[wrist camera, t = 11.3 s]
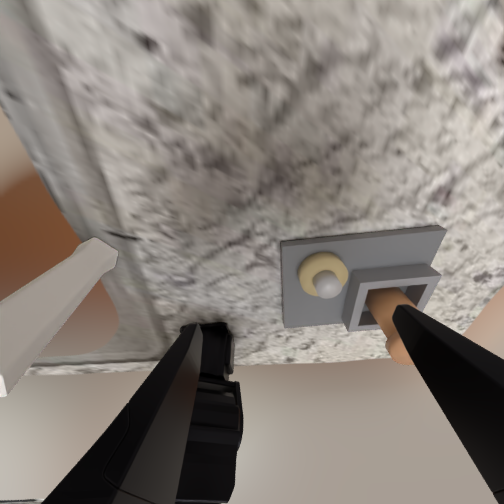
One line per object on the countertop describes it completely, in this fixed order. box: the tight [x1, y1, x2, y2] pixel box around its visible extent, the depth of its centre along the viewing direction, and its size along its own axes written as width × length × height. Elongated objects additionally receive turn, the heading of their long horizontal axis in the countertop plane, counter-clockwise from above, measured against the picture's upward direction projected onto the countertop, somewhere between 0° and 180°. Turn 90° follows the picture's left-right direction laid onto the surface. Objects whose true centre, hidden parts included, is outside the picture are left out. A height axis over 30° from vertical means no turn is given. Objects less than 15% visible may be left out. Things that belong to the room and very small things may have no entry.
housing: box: [281, 225, 447, 332], centre depth 22 cm, size 16×13×4 cm
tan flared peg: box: [365, 287, 420, 365], centre depth 21 cm, size 5×5×7 cm
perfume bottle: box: [0, 237, 118, 397], centre depth 15 cm, size 5×4×15 cm
